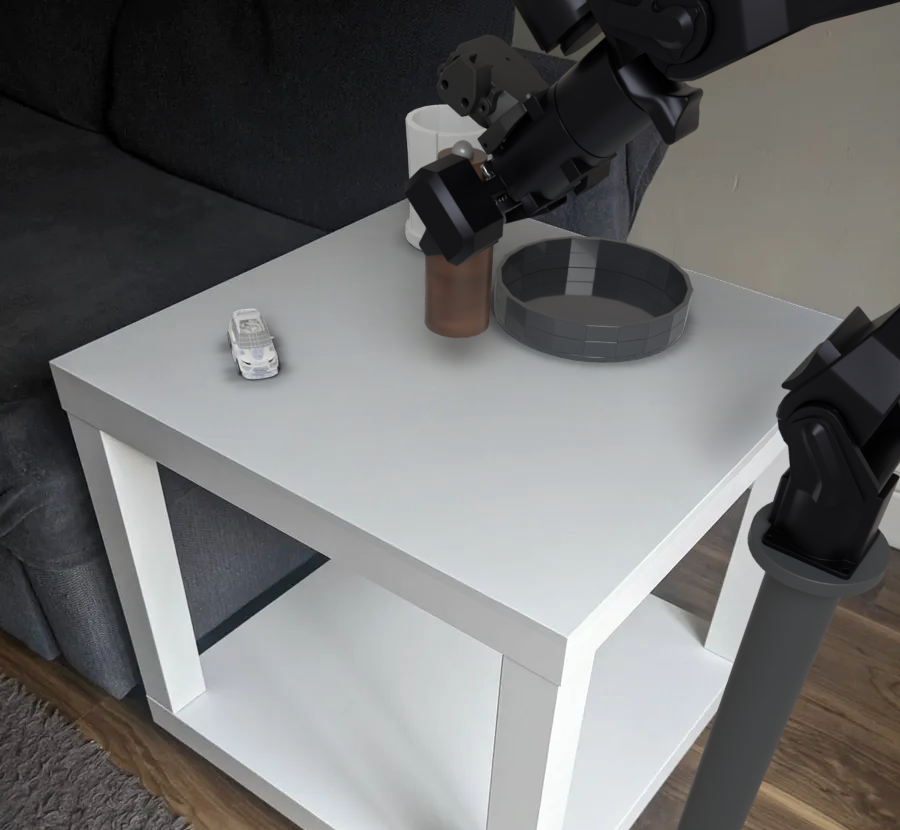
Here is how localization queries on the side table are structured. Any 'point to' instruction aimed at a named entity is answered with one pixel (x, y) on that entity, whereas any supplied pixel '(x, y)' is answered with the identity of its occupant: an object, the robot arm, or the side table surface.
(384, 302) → the side table surface
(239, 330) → the toy car
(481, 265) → the pepper mill
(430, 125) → the cup
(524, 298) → the pan
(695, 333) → the side table surface
